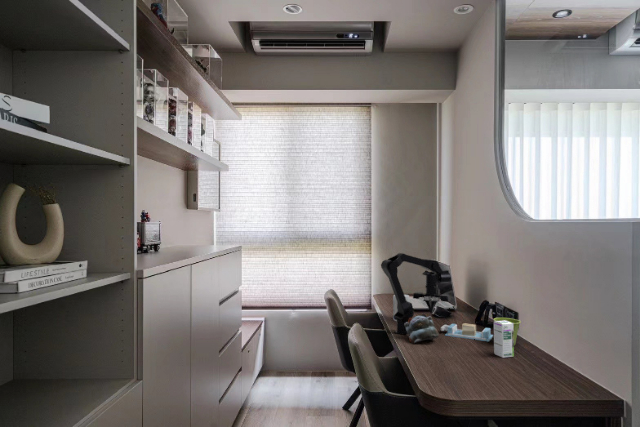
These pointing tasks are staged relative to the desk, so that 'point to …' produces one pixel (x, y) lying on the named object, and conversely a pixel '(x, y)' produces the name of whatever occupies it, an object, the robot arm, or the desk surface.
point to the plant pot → (515, 325)
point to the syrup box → (503, 339)
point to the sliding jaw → (449, 328)
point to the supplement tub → (397, 303)
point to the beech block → (468, 329)
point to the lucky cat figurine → (421, 329)
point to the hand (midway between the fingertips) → (431, 313)
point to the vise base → (479, 336)
